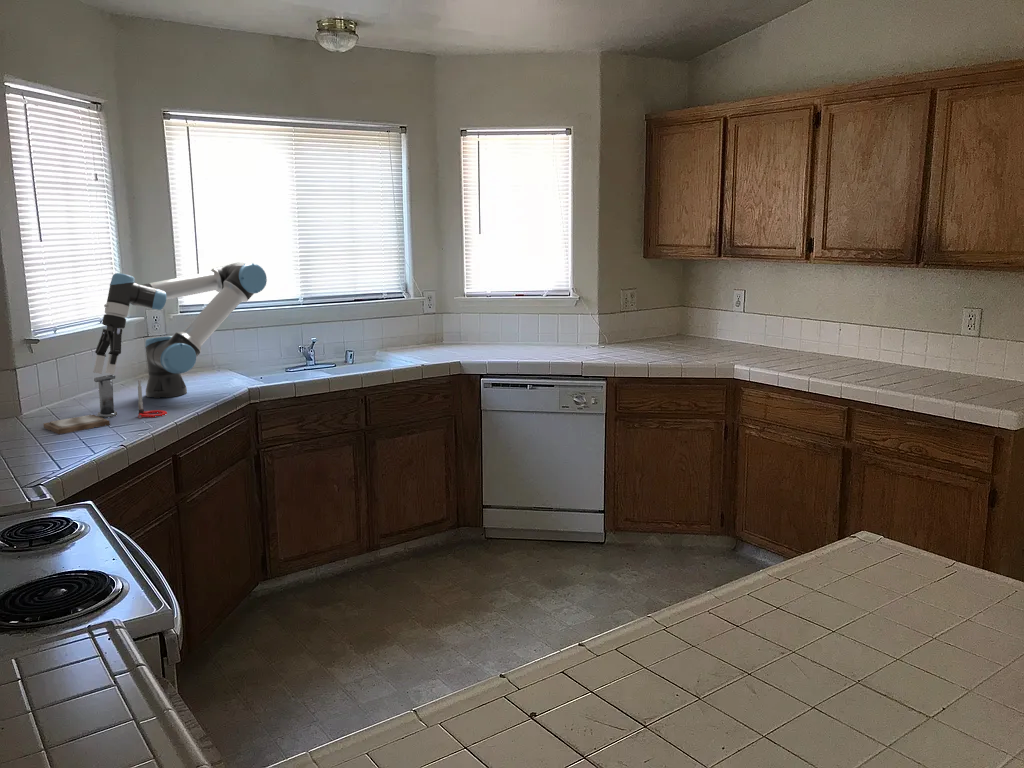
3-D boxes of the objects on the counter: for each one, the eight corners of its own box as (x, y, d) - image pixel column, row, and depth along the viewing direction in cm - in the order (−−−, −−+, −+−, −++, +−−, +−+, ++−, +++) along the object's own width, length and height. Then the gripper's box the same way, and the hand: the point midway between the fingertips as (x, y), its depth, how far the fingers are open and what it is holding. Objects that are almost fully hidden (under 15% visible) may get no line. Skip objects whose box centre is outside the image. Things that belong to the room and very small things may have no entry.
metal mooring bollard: (109, 412, 298) (107, 373, 295) (122, 415, 295) (120, 375, 292) (90, 416, 291) (87, 376, 288) (103, 419, 288) (100, 379, 285)
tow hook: (168, 412, 298) (140, 414, 295) (166, 377, 296) (138, 378, 293) (166, 417, 290) (137, 419, 288) (164, 381, 288) (135, 382, 285)
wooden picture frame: (93, 418, 289) (93, 413, 288) (109, 424, 279) (109, 419, 279) (44, 427, 277) (43, 421, 277) (59, 434, 268) (58, 428, 268)
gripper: (93, 314, 306) (81, 370, 304) (116, 312, 288) (103, 371, 285) (114, 319, 311) (103, 374, 309) (138, 317, 293) (126, 375, 290)
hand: (103, 373), depth 297 cm, fingers open, 13 cm apart
